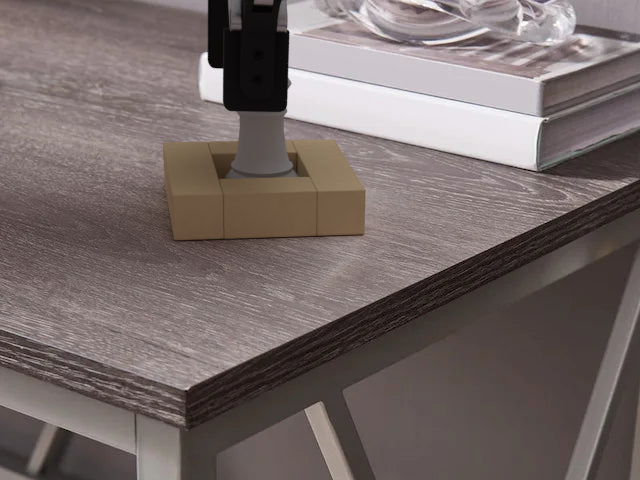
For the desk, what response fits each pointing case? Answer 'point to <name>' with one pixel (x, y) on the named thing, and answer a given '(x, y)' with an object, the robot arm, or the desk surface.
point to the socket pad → (261, 193)
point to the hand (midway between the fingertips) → (244, 87)
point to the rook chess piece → (261, 147)
